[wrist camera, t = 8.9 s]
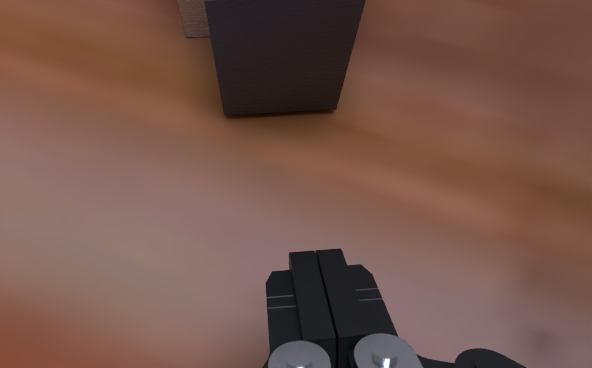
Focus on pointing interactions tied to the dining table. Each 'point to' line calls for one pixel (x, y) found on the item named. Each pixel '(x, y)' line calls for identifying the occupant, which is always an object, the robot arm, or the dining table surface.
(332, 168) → the dining table surface
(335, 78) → the dark boxy piece
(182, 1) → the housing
